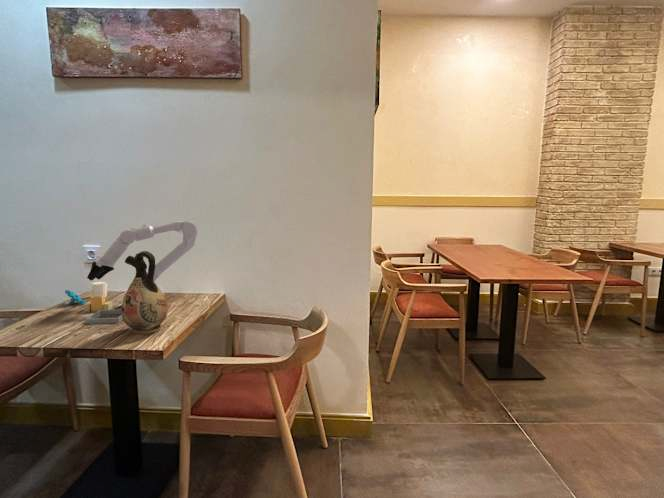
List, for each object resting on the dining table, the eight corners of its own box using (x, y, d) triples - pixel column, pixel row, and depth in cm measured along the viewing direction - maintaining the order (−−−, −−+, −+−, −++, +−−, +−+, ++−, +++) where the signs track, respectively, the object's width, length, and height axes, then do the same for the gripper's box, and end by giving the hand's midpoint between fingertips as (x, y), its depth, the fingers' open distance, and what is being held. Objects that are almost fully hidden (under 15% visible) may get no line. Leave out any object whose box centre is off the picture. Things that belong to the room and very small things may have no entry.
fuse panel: (118, 307, 176) (117, 299, 175) (108, 314, 166) (108, 306, 166) (89, 308, 175) (88, 300, 174) (77, 315, 165) (77, 306, 164)
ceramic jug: (112, 334, 144) (106, 251, 140) (146, 321, 158) (142, 246, 154) (149, 341, 138) (143, 254, 134) (181, 327, 152) (177, 248, 148)
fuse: (105, 308, 172) (104, 294, 171) (102, 310, 169) (101, 296, 168) (94, 309, 171) (93, 294, 170) (91, 311, 168) (90, 296, 168)
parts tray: (130, 315, 166) (130, 309, 166) (119, 324, 154) (118, 318, 154) (100, 315, 165) (99, 310, 164) (85, 325, 153) (85, 319, 153)
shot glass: (88, 298, 191) (87, 284, 190) (98, 294, 198) (97, 280, 197) (101, 299, 190) (100, 284, 189) (111, 295, 196) (110, 281, 195)
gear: (85, 304, 176) (65, 289, 173) (74, 314, 174) (54, 300, 171) (89, 301, 186) (70, 287, 183) (79, 311, 184) (59, 297, 181)
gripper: (112, 247, 179) (92, 272, 178) (99, 247, 165) (77, 273, 163) (125, 257, 180) (106, 281, 178) (114, 257, 166) (92, 284, 164)
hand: (93, 278), depth 171 cm, fingers open, 7 cm apart
